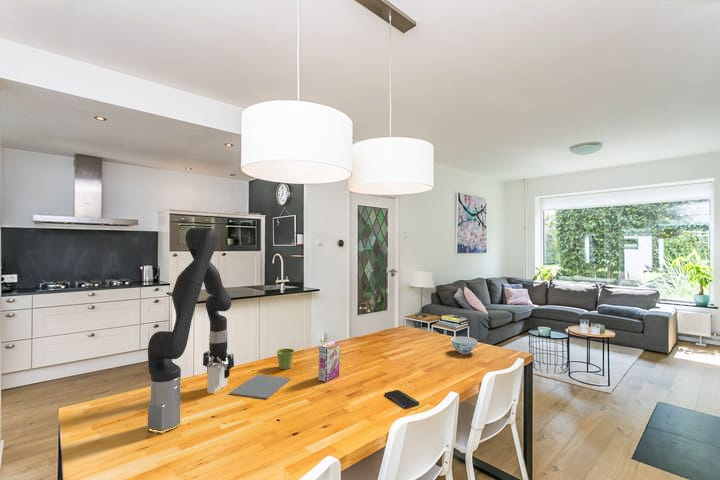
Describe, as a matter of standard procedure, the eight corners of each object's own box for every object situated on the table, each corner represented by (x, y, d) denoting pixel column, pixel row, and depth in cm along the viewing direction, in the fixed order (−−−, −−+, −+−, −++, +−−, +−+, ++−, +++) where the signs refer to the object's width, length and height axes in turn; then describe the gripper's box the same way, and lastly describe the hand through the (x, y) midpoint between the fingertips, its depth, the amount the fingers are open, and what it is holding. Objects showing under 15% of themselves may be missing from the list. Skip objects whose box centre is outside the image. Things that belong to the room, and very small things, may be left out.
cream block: (214, 394, 149) (214, 368, 149) (207, 393, 150) (207, 367, 150) (227, 386, 158) (227, 361, 158) (220, 385, 159) (221, 361, 159)
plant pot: (296, 369, 179) (296, 352, 179) (277, 371, 176) (277, 354, 176) (292, 363, 188) (292, 347, 188) (274, 365, 184) (275, 349, 185)
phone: (397, 389, 153) (420, 402, 140) (397, 392, 153) (420, 405, 140) (383, 393, 149) (405, 407, 136) (383, 396, 149) (405, 410, 136)
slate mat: (266, 399, 144) (266, 397, 144) (229, 394, 149) (229, 392, 149) (290, 379, 166) (290, 378, 166) (257, 375, 170) (257, 374, 170)
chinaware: (450, 355, 204) (450, 341, 204) (451, 347, 218) (451, 335, 219) (477, 357, 200) (477, 344, 200) (476, 350, 214) (476, 337, 214)
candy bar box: (326, 383, 162) (326, 347, 162) (318, 380, 164) (318, 346, 165) (340, 375, 171) (340, 342, 172) (331, 373, 174) (332, 340, 174)
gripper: (198, 341, 153) (198, 378, 153) (226, 343, 149) (226, 381, 149) (210, 336, 160) (210, 371, 160) (237, 339, 156) (237, 375, 156)
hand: (218, 376), depth 154 cm, fingers open, 8 cm apart
